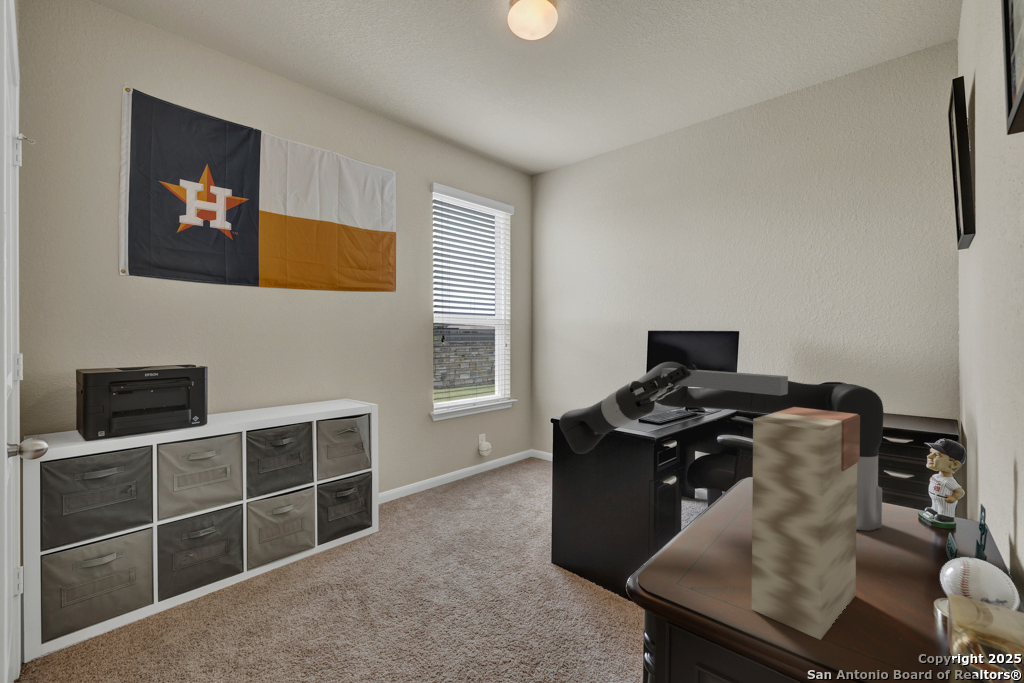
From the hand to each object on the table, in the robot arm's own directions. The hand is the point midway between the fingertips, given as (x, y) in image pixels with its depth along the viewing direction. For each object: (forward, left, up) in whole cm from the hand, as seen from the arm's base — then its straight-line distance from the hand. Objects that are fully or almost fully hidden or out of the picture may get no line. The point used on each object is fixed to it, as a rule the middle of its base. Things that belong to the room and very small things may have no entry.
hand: (691, 369), depth 89 cm
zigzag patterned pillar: (-16, +10, -39) cm, 43 cm away
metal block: (-4, +4, -3) cm, 6 cm away
